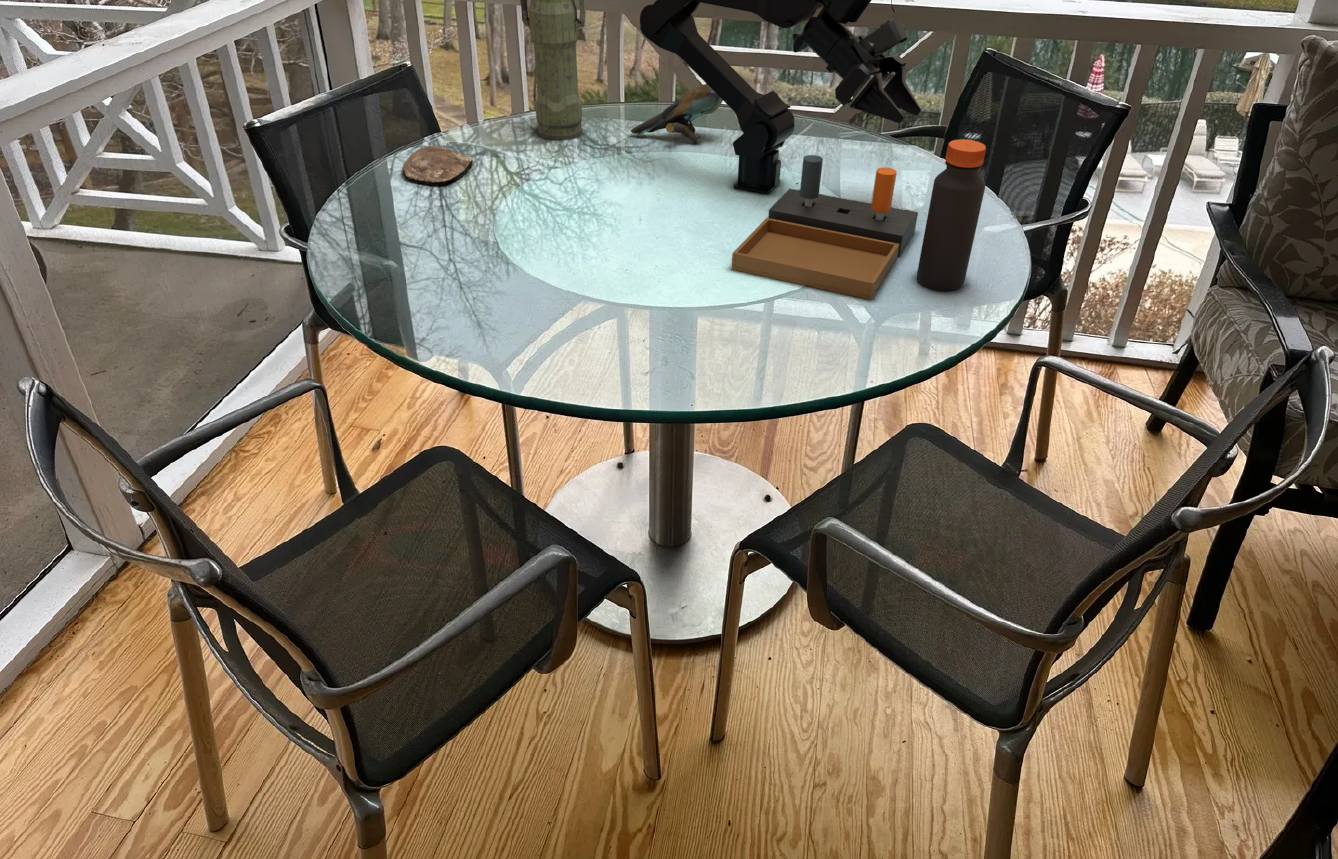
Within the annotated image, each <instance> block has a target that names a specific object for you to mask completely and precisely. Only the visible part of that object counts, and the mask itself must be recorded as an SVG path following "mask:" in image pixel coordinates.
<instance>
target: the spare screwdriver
mask: <svg viewBox="0 0 1338 859" xmlns="http://www.w3.org/2000/svg"><path fill="white" fill-rule="evenodd" d="M823 160H824V159H823V157H822V156H820V155H815V154H809V155H808V154H807V155H805V156H803V158H802V169H801V179H800V189H799V190H800V196H801V197H803V198H805V205H804V206H807V207H812V201H813V199H815V198H817V197H818V196H819V194H820V190H821V180H822V171H823V162H824V161H823Z"/></svg>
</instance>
